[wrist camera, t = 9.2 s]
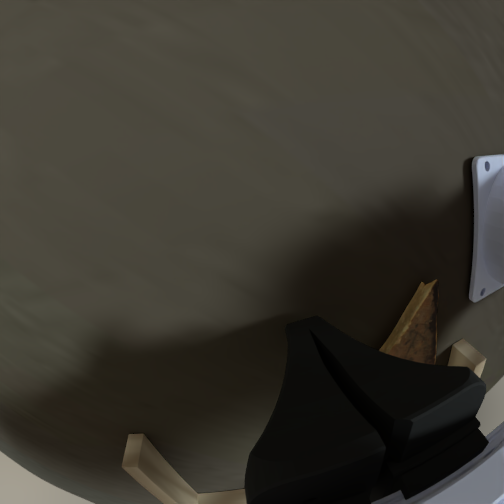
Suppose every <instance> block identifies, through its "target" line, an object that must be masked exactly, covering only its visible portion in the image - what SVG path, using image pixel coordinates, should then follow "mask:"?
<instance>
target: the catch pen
mask: <svg viewBox="0 0 504 504" xmlns="http://www.w3.org/2000/svg"><path fill="white" fill-rule="evenodd" d="M485 362H486V358H485V357H484V356H483V355H481V354H480V353H479V352H478V351H477V350H476V349H475V348H473V347H472V346H471V345H470V344H469V343H468V342H466V341H465V340H464V339H461V340H460V341H458V342H456V343H455V344H453V345H452V349H451V354H450V358H449V362H448V366H464V367H468V368H470V369H471V370H472V371H473V372H474V373H475V374H476V375H477V376H478V377H479V378H480V376H481V373H482V370H483V368H484V365H485ZM122 468H123V469H124V470H125V471H126V472H127V473H129V474H130V475H131V476H132V477H133V478H134V479H135V480H136V481H137V482H138V483H140V484H141V485H142V486H143V487H144V488H145V489H147V490H148V491H149V492H150V493H151V494H153V495H154V496H155V497H156V498H158V499H159V500H160V501H161V502H163V503H164V504H247V502H246V495H245V489H239V490H231V491H223V492H213V493H200V494H197V493H196V492H195V491H194V490H193V489H192V488H191V487H190V486H189V485H188V484H187V483H186V482H185V481H184V480H183V479H182V477H181V476H180V475H179V474H178V473H177V472H176V471H175V470H174V469H173V468H172V467H171V466H170V465H169V463H168V462H167V461H166V460H165V459H164V458H163V457H162V455H161V454H160V453H159V452H158V451H157V450H156V448H155V447H154V446H153V445H152V443H151V442H150V441H149V440H148V439H147V437H146V436H145V435H144V433H143V434H129V435H128V440H127V444H126V448H125V453H124V458H123V462H122Z"/></svg>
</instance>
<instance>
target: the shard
mask: <svg viewBox="0 0 504 504" xmlns="http://www.w3.org/2000/svg"><path fill="white" fill-rule="evenodd" d="M438 286H439V282H438V279H436V280H434V281H433V282H431V283H429V284H426V285H425V284H424V283H423V282H421V284H420V285H419V287H418V289H417V291H416V293H415V295H414V296H413V298H412V299H411V301H410V303H409V304H408V306H407V307H406V309H405V311H404V313H403V314H402V316H401V318H400V319H399V321H398V323H397V325H396V327H395V328H394V330H393V331H392V333H391V335H390V336H389V338H388V339H387V340H386V342H385V343H384V344H383V346H382V347H381V348H380V349H379V351H381V352H384V353H386V354H389V355H392V356H395V357H399V358H402V359H406V360H410V361H415V362H420V363H425V364H433V365H435V362H436V347H437V324H436V323H437V310H438V309H437V304H438V299H439V294H438Z"/></svg>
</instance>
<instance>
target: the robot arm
mask: <svg viewBox="0 0 504 504" xmlns="http://www.w3.org/2000/svg"><path fill="white" fill-rule="evenodd" d="M472 175H473V192H474V245H473V261H472V272H471V282H470V290H469V299H470V300H471V301H472V302H474V303H475V302H477V301H479V300H481V299H483V298H484V297H486V296H488V295H489V294H491V293H493V292H494V291H496V290H498V289H499V288H501V287H503V286H504V154H499V155H487V156H476V157H474V159H473V161H472ZM285 330H286V335H287V340H288V356H287V364H286V371H285V376H284V381H283V385H282V388H281V392H280V395H279V398H278V401H277V404H276V406H275V409H274V411H273V414H272V416H271V418H270V420H269V422H268V424H267V426H266V428H265V430H264V432H263V433H262V435H261V437H260V438H259V440H258V442H257V443H256V445H255V446H254V448H253V449H252V451H251V452H250V454H249V459H248V463H247V468H246V474H245V495H246V502H247V504H504V422H503V423H501V424H500V425H499V426H498V427H497V428H496V429H494V430H493V431H492V432H491V433H489V434H488V435H487V436H486V437H485V436H484V435H483V434H482V433H481V431H480V430H479V429H478V428H479V426H480V422H479V421H478V420H477V418H476V417H475V416H476V414H477V412H478V410H479V408H480V406H481V404H482V401H483V399H484V396H485V393H486V384H485V383H484V382H483V381H482V380H481V379H480V378H479V377H478V376H477V375H476V374H475V373H474V372H473V371H472V370H471V369H470V368H468V367H464V366H440V365H433V364H425V363H420V362H415V361H410V360H406V359H402V358H399V357H395V356H392V355H389V354H386V353H384V352H381V351H378V350H376V349H373V348H371V347H369V346H367V345H365V344H363V343H361V342H359V341H357V340H355V339H353V338H351V337H350V336H348V335H346V334H345V333H343V332H341V331H340V330H338V329H337V328H335V327H334V326H332V325H330V324H329V323H328V322H326V321H325V320H323V319H322V318H320V317H319V316H314V317H311V318H307V319H304V320H300V321H297V322H293V323H290V324H287V325H286V327H285Z"/></svg>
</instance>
